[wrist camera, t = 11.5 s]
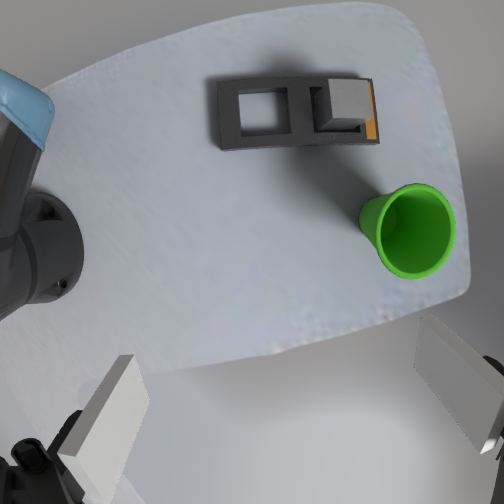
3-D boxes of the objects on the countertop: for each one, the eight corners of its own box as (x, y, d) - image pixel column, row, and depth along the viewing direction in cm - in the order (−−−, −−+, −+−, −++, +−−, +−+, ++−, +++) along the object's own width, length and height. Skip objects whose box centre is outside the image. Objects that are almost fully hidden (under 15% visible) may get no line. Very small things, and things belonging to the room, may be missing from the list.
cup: (328, 213, 38) (356, 227, 27) (381, 166, 36) (425, 163, 26) (370, 268, 39) (407, 298, 28) (420, 222, 38) (469, 237, 27)
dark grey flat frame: (223, 151, 36) (221, 149, 34) (218, 86, 35) (216, 81, 33) (373, 145, 36) (379, 143, 34) (366, 83, 34) (372, 78, 32)
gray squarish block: (316, 130, 36) (332, 118, 28) (313, 98, 35) (328, 78, 27) (349, 129, 36) (372, 118, 28) (345, 98, 35) (367, 80, 27)
